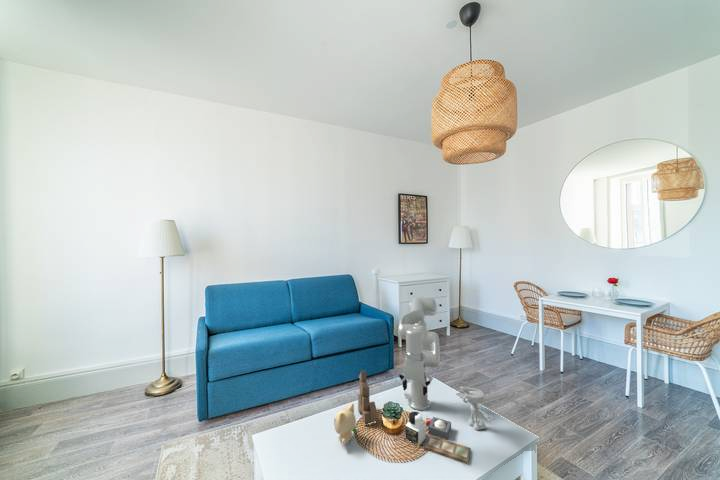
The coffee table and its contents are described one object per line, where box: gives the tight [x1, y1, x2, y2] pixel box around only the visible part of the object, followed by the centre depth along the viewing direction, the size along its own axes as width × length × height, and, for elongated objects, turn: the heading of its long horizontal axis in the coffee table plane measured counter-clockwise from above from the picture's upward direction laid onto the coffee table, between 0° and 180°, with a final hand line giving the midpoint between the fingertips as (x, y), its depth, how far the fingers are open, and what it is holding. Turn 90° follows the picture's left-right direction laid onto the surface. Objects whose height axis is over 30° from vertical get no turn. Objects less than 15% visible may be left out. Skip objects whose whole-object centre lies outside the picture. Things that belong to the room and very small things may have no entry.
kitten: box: [333, 403, 357, 445], centre depth 134 cm, size 15×10×15 cm
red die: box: [425, 417, 432, 428], centre depth 143 cm, size 3×3×3 cm
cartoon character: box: [455, 386, 496, 431], centre depth 141 cm, size 25×12×20 cm, turn 19°
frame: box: [421, 433, 430, 449], centre depth 133 cm, size 11×11×1 cm
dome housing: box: [428, 416, 452, 441], centre depth 138 cm, size 9×9×4 cm
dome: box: [434, 420, 446, 430], centre depth 138 cm, size 5×5×5 cm
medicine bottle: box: [404, 411, 427, 447], centre depth 133 cm, size 7×7×12 cm
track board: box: [425, 434, 472, 465], centre depth 126 cm, size 18×9×1 cm, turn 61°
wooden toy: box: [357, 370, 377, 424], centre depth 151 cm, size 16×7×25 cm, turn 15°
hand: (414, 391), depth 133 cm, fingers open, 9 cm apart
